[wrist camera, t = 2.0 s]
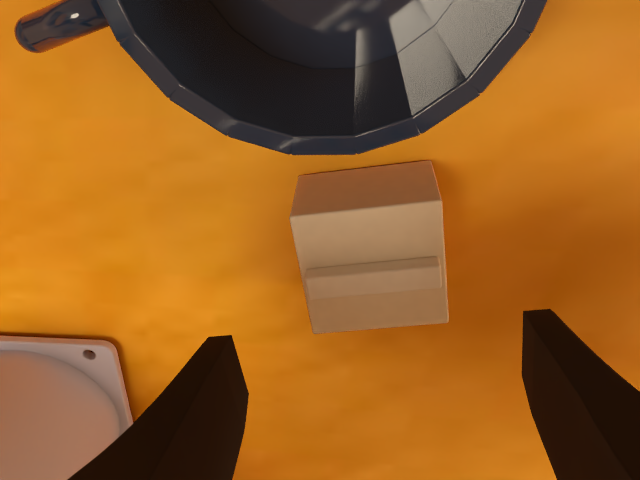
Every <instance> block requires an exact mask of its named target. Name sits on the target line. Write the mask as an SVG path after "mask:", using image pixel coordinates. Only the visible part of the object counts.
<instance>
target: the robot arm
mask: <svg viewBox="0 0 640 480" xmlns="http://www.w3.org/2000/svg"><path fill="white" fill-rule="evenodd" d="M88 350H91V351H93V352H94V353H91V352H90V351H88ZM522 378H523V382H524V386H525V390H526V394H527V398H528V402H529V406H530V409H531V413H532V416H533V419H534V421H535V424H536V427H537V429H538V432H539V434H540V437H541V440H542V442H543V445H544V447H545V450H546V452H547V455H548V457H549V460H550V462H551V465H552V468H553V470H554V473H555V475H556V478H557V480H640V392H639V391H638V390H637V389H636V388H634V387H633V386H632V385H631V384H629V383H628V382H627V381H626V380H625V379H623V378H622V377H621V376H620V375H619V374H618V373H616V372H615V371H614V370H613V369H612V368H611V367H610V366H609V365H607V364H606V363H605V362H604V361H603V360H602V359H601V358H600V357H599V356H597V355H596V354H595V353H594V352H593V351H592V350H591V349H590V348H589V347H588V346H587V345H586V344H585V343H584V342H583V341H582V340H581V339H580V338H579V337H578V336H577V335H576V334H575V333H574V332H573V331H572V330H571V329H570V328H569V327H568V326H567V325H566V324H565V323H564V322H563V321H562V320H561V319H560V318H559V317H558V316H557V315H556V314H555V313H554V312H553V311H552V310H551V309H544V310H532V311H523V347H522ZM248 396H249V393H248V390H247V386H246V383H245V380H244V376H243V373H242V369H241V366H240V363H239V359H238V356H237V352H236V349H235V346H234V342H233V339H232V335H227V336H215V337H208V338H207V339H206V341H205V342H204V343H203V344H202V345H201V347H200V348H199V349H198V350H197V351H196V353H195V354H194V355H193V356H192V357H191V359H190V360H189V361H188V362H187V364H186V365H185V366H184V367H183V368H182V370H181V371H180V372H179V373H178V374H177V376H176V377H175V378H174V379H173V380H172V381H171V383H170V384H169V385H168V386H167V387H166V388H165V390H164V391H163V392H162V393H161V394H160V395H159V397H158V398H157V399H156V400H155V401H154V402H153V403H152V404H151V405H150V406H149V407H148V408H147V409H146V410H145V411H144V413H143V414H142V415H141V416H140V417H139V418H138V419H137V420H136V421H135V422H134V423H133V420H132V415H131V411H130V406H129V402H128V398H127V393H126V389H125V384H124V380H123V375H122V371H121V367H120V362H119V358H118V353H117V350H116V347H115V346H114V345H113V344H112V343H110V342H108V341H105V340H91V339H67V338H44V337H20V336H0V480H232V478H233V474H234V470H235V466H236V462H237V458H238V454H239V450H240V446H241V442H242V438H243V434H244V429H245V422H246V414H247V405H248Z"/></svg>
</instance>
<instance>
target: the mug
mask: <svg viewBox="0 0 640 480" xmlns="http://www.w3.org/2000/svg"><path fill="white" fill-rule="evenodd" d="M546 3H547V0H61V1H58V2H56V3H53V4H51V5H49V6H46V7H44V8H42V9H39V10H37V11H35V12H32V13H30V14H27V15H25V16H23V17H22V18H20V19H19V20H18V21H17V23H16V25H15V29H14V32H15V37H16V40H17V41H18V43H19V44H20V45H21V46H22V47H23V48H24V49H26V50H27V51H30V52H33V53H42V52H46V51H48V50H51V49H53V48H56V47H58V46H61V45H63V44H66V43H68V42H70V41H73V40H75V39H78V38H80V37H83V36H85V35H88V34H90V33H93V32H95V31H98V30H100V29H103V28H105V27H108V26H110V28H111V30H112V32H113V34H114V36H115V38H116V40H117V41H118V42H120V45H121V46H122V48H123V49H124V50H125V51H126V52H127V53H128V54H129V55H130V56H131V58H132V59H133V60H134V61H135V62H136V63H137V64H138V65H139V66H140V68H141V69H142V70H143V71H144V72H145V73H146V74H147V75H148V77H149V78H150V79H151V80H152V81H153V82H154V83H155V84H156V85H157V87H158V88H159V89H160V90H161V91H162V92H163V93H164V94H165V95H166V97H168V98H170V100H171V101H173V102H174V103H176V104H177V105H179V106H180V107H182V108H183V109H185V110H187V111H188V112H190V113H191V114H193V115H194V116H196V117H198V118H199V119H201V120H202V121H204V122H205V123H207V124H208V125H210V126H212V127H213V128H215V129H216V130H218V131H219V132H221V133H223V134H224V135H226V136H227V135H228V136H229V137H231V138H234V139H238V140H241V141H245V142H248V143H251V144H255V145H258V146H262V147H265V148H268V149H272V150H275V151H279V152H282V153H285V154H292V155H355V154H356V153H357V154H360V153H364V152H367V151H370V150H373V149H376V148H380V147H383V146H386V145H389V144H392V143H396V142H399V141H402V140H405V139H409V138H412V137H415V136H418V135H420V133H421V134H422V133H424V132H426V131H427V130H429V129H430V128H432V127H433V126H435V125H436V124H438V123H439V122H441V121H442V120H444V119H445V118H447V117H448V116H450V115H451V114H453V113H454V112H456V111H457V110H459V109H460V108H462V107H463V106H465V105H466V104H467V103H469V102H470V101H472V100H473V99H475V98H476V97H478V96H479V95H480V93H482V92H483V91H484V90H485V89H486V88H487V87H488V86H489V84H490V83H491V82H492V81H493V80H494V78H495V77H496V76H497V75H498V74H499V73H500V71H501V70H502V69H503V68H504V67H505V65H506V64H507V63H508V62H509V61H510V60H511V58H512V57H513V56H514V55H515V54H516V52H517V51H518V50H519V49H520V48H521V47H522V45H523V44H524V43H525V42H526V41H527V39H528V38H529V37H530V35H531V34H530V33H532V32H533V31H534V29H535V26H536V24H537V22H538V20H539V18H540V16H541V13H542V11H543V9H544V7H545V5H546Z"/></svg>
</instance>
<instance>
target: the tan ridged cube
mask: <svg viewBox="0 0 640 480" xmlns="http://www.w3.org/2000/svg"><path fill="white" fill-rule="evenodd" d="M289 219H290V224H291V228H292V233H293V238H294V243H295V248H296V253H297V258H298V263H299V268H300V272H301V277H302V282H303V287H304V292H305V297H306V302H307V307H308V312H309V317H310V321H311V326H312V331H313V333H314V334H319V333H331V332H343V331H356V330H368V329H380V328H392V327H404V326H416V325H428V324H440V323H448V321H449V313H448V296H447V278H446V260H445V243H444V225H443V207H442V199H441V195H440V191H439V188H438V184H437V180H436V177H435V173H434V169H433V166H432V162H431V161H430V160H427V161H419V162H410V163H402V164H393V165H385V166H377V167H368V168H360V169H351V170H343V171H335V172H326V173H318V174H309V175H301V176H299V178H298V182H297V186H296V191H295V195H294V200H293V204H292V209H291V213H290V218H289Z"/></svg>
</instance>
